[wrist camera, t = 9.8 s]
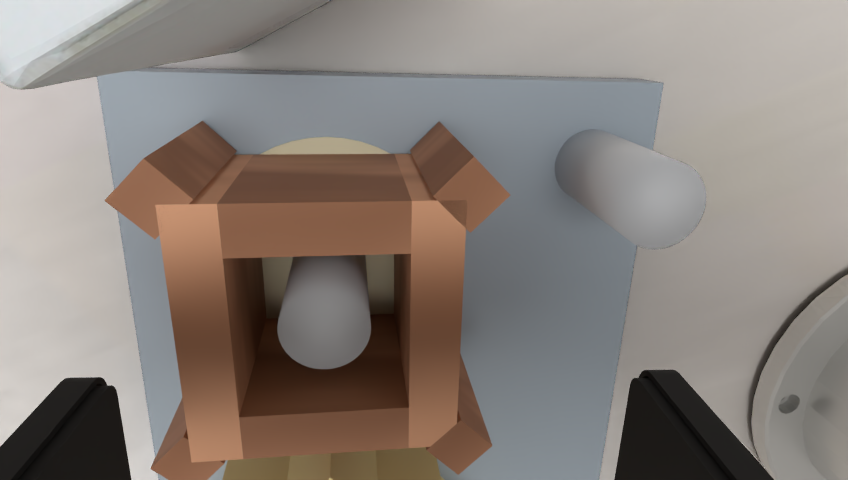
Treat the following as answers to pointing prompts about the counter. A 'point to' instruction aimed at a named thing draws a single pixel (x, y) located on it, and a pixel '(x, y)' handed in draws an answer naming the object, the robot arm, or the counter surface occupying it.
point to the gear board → (484, 247)
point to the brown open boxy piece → (257, 335)
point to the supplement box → (127, 34)
